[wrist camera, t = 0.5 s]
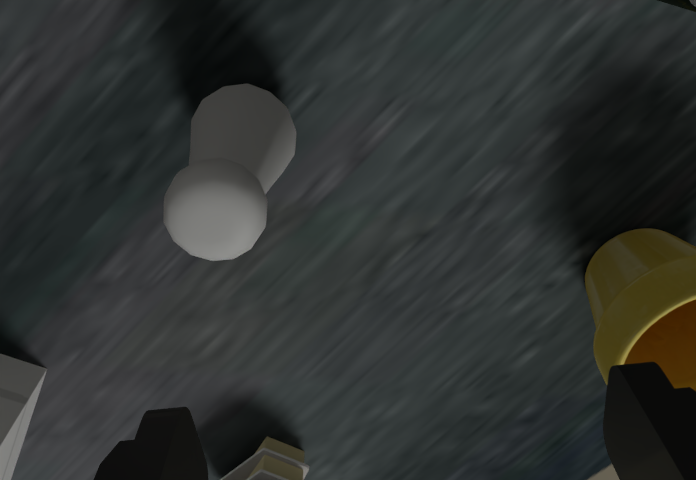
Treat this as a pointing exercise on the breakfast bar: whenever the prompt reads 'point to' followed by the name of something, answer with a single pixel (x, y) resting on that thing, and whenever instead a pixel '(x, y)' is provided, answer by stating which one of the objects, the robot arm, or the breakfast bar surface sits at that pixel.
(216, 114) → the salt shaker
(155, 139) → the breakfast bar surface
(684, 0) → the beer can
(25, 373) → the pizza boxes
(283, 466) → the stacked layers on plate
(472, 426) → the breakfast bar surface
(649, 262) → the plant pot
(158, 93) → the breakfast bar surface
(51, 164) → the breakfast bar surface
